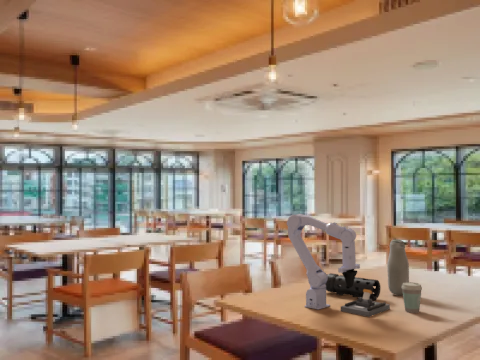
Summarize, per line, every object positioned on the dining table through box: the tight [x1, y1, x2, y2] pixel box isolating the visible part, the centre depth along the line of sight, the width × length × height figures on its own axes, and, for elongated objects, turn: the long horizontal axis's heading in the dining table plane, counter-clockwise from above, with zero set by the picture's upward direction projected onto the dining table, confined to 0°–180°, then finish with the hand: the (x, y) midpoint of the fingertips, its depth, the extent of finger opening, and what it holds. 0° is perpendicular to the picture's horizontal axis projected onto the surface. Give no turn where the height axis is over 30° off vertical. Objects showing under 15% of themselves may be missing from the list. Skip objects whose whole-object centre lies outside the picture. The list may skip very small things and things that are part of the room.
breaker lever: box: [362, 289, 372, 301], centre depth 205 cm, size 2×3×4 cm, turn 44°
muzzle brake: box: [325, 272, 381, 301], centre depth 230 cm, size 10×28×10 cm, turn 48°
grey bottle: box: [386, 239, 410, 296], centre depth 232 cm, size 10×10×28 cm
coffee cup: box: [402, 281, 423, 314], centre depth 201 cm, size 8×8×12 cm
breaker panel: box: [340, 297, 391, 318], centre depth 204 cm, size 18×14×5 cm
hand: (349, 286), depth 204 cm, fingers closed
